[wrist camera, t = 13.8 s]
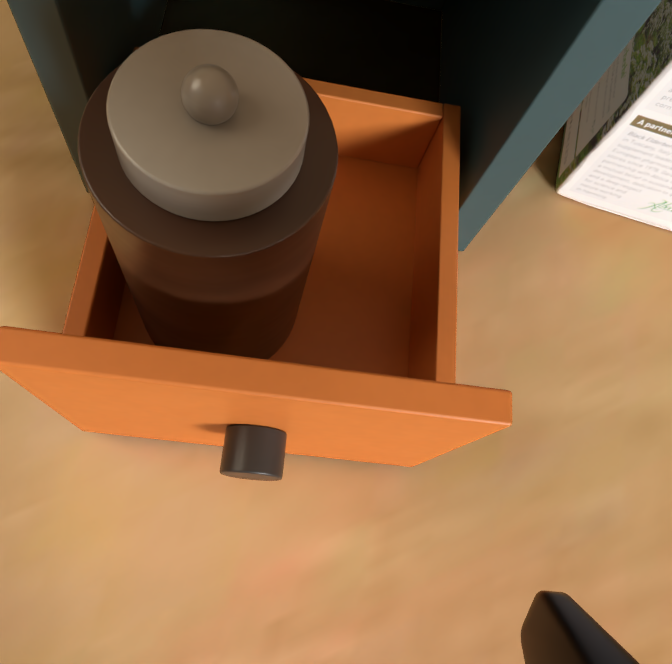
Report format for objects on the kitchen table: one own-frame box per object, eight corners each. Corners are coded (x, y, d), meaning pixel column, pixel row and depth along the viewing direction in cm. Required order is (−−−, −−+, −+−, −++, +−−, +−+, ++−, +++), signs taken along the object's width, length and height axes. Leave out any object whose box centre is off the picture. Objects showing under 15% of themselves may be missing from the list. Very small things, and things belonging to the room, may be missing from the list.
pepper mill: (264, 398, 19) (297, 252, 9) (113, 341, 19) (-12, 133, 9) (317, 264, 21) (390, 26, 11) (179, 211, 21) (132, -78, 11)
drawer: (411, 504, 20) (514, 484, 12) (71, 470, 18) (-32, 425, 11) (425, 173, 24) (508, 15, 17) (150, 126, 23) (111, -67, 15)
